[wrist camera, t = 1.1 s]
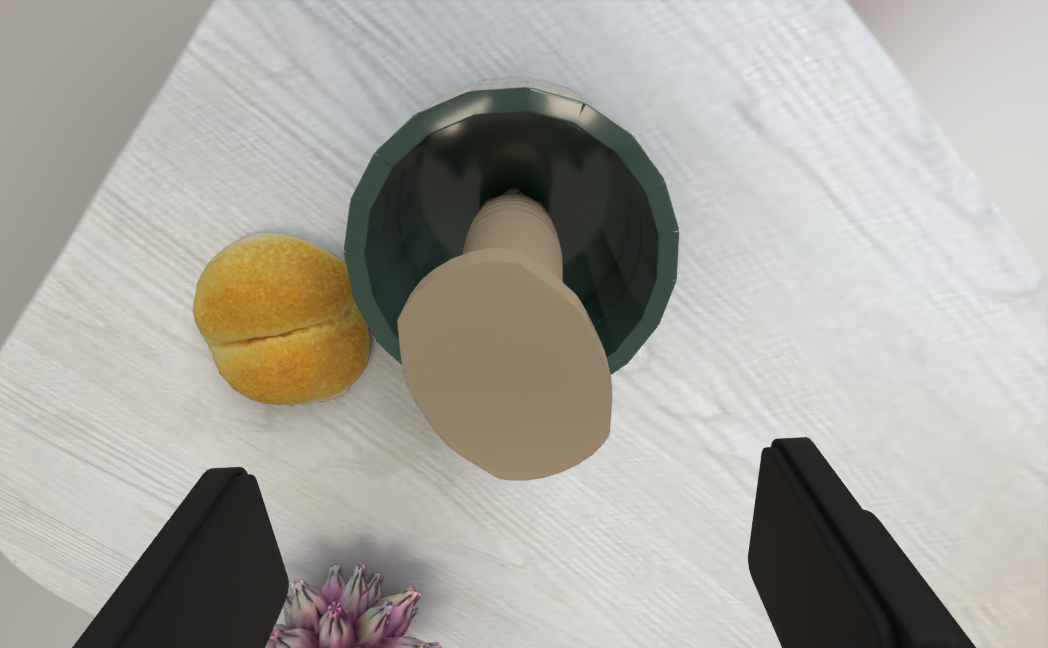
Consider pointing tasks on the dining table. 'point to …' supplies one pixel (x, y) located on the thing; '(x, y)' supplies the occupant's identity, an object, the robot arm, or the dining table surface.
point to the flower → (347, 615)
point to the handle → (507, 349)
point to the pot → (540, 173)
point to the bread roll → (282, 320)
